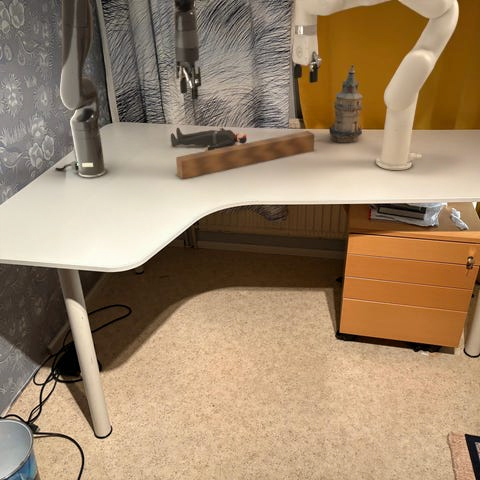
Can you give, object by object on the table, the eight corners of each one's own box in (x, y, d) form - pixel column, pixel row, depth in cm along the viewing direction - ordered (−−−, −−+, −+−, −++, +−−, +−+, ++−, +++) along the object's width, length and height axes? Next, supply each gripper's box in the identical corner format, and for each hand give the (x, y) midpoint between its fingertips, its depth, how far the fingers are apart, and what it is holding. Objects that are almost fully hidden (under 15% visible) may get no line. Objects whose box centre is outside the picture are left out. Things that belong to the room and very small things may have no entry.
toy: (183, 121, 228) (252, 121, 222) (184, 135, 231) (252, 135, 225) (163, 141, 206) (239, 141, 200) (165, 156, 209) (240, 157, 203)
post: (306, 147, 213) (307, 130, 210) (313, 150, 210) (314, 134, 207) (177, 174, 190) (176, 157, 187) (182, 179, 187) (181, 161, 183)
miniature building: (330, 144, 216) (335, 67, 201) (326, 133, 228) (331, 60, 213) (363, 144, 215) (371, 67, 200) (358, 133, 227) (365, 60, 212)
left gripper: (166, 42, 173) (170, 92, 181) (185, 49, 162) (187, 102, 170) (188, 40, 176) (190, 90, 184) (207, 47, 165) (208, 99, 173)
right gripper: (283, 29, 193) (283, 77, 201) (311, 33, 180) (311, 85, 188) (300, 27, 196) (300, 74, 204) (329, 31, 183) (328, 82, 191)
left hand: (189, 96), depth 177 cm, fingers open, 8 cm apart
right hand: (305, 80), depth 196 cm, fingers open, 9 cm apart
